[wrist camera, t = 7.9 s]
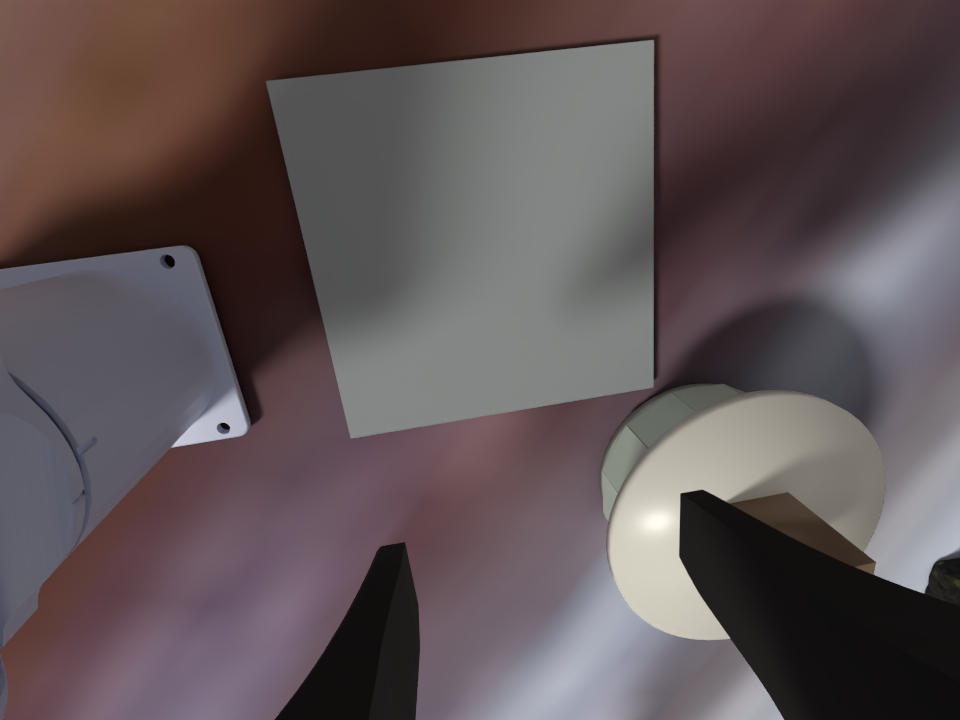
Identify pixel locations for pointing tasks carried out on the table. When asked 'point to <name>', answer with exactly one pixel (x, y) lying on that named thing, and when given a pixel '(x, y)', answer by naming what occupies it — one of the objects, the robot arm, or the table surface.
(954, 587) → the candle
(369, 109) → the mat
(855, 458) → the lid
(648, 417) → the bowl
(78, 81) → the table surface
